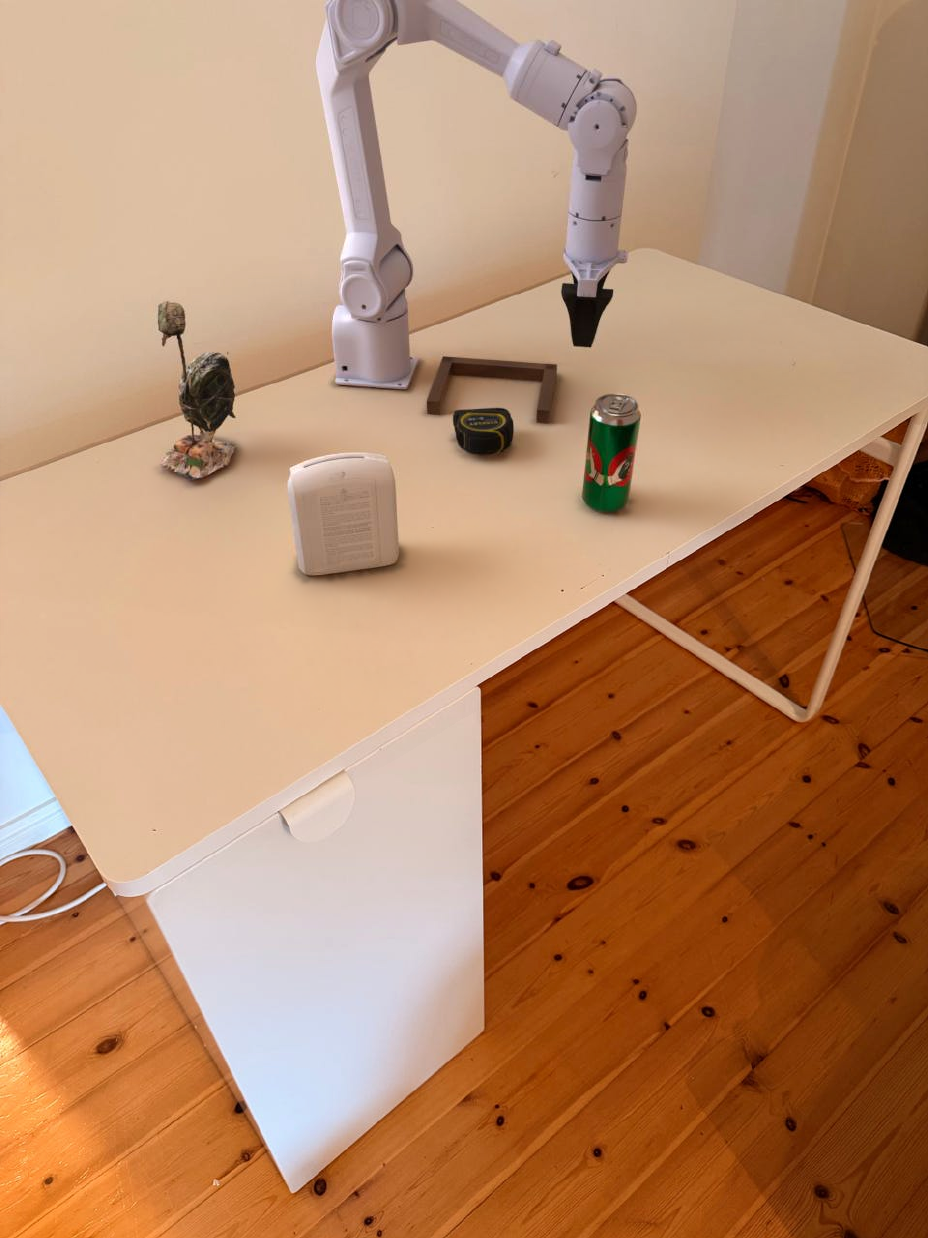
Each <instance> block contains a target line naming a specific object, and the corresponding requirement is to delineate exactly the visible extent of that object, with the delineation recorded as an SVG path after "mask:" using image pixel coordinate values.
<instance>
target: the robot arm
mask: <svg viewBox="0 0 928 1238" xmlns="http://www.w3.org/2000/svg"><path fill="white" fill-rule="evenodd" d="M324 12H325V13H324V14H325V17H326V18H325V22H324V25H323V30H322V33H321V37H320V41H319V45H318V49H317V53H316V56H315V69H316V74H317V80H318V81H317V82H318V84H319V91H320V97H321V102H322V107H323V113H324V118H325V123H326V129H327V134H328V140H329V144H330V150H331V156H332V161H333V167H334V172H335V178H336V182H337V183H336V184H337V188H338V193H339V199H340V204H341V210H342V215H343V222H344V226H345V232H346V236H345V239H344V243H343V247H342V249H341V250H342V251H341V254H340V259H339V261H340V267H341V277H340V281H339V284H338V294H339V298H340V301H341V303H342V304H338V305H337V306H336V307H335V309H334V312H333V316H332V323H331V339H332V346H333V347H332V348H333V356H334V357H333V358H334V365H335V376H336V378H335V379H334V380H335V381H334V382H335V384H337V385H339V386H341V385H342V386H352V387H353V386H354V387H366V388H367V387H368V388H378V389H379V388H380V389H393V390H407V389H408V388H409V386H410V383H411V381H412V378H413V376H414V373H415V371H416V368H417V365H418V363H419V357H417V356H411V349H410V329H409V327H410V324H409V309H408V308H409V307H408V300H407V297H406V288H408V286H409V285H410V284H411V282H412V280H413V277H414V264H413V261H412V258H411V257H410V255H409V254H408V252H407V250H406V248H405V246H404V243H403V238H402V237H403V236H402V232H401V231H400V230H399V229H398V228H396V227H395V225H394V224H393V223H392V219H391V213H390V206H389V201H388V200H389V199H388V194H387V188H386V187H387V186H386V181H385V174H384V168H383V160H382V154H381V148H380V147H381V146H380V142H379V141H380V140H379V135H378V127H377V122H376V116H375V115H376V114H375V108H374V101H373V95H372V89H371V83H370V73H371V71H372V70H373V69H374V68H375V66H376V65H377V63H378V62H379V60H380V59H381V57H383V55H384V53H385V52H386V51H387V48H389V47H390V46H391V45H392V44H394V42H396V44H397V46H404V45H410V44H416V43H422V42H428V41H433V42H435V43H437V44H439V45H441V46H443V47H445V48H447V49H449V50H451V51H452V52H453V53H456V54H458V55H460V56H462V57H464V58H466V59H468V60H469V61H471V62H473V63H474V64H476V65H478V66H480V67H481V68H483V69H486V70H488V71H489V72H491V73H493V74H494V75H497V76H498V77H500V78H502V79H503V81H504V85H505V87H506V89H507V93H508V96H509V98H510V99H511V100H512V101H514V102H516V103H518V104H519V105H520V106H522V107H524V108H526V109H527V110H529V111H531V112H532V113H534V114H536V115H537V116H539V117H541V118H542V119H543V120H545V121H547V122H548V123H550V124H551V125H553V126H555V127H556V128H558V129H560V130H561V131H566V132H567V133H568V136H569V140H570V142H571V143H572V146H573V147H574V148H573V163H572V165H571V171H570V184H569V185H570V186H569V199H568V213H567V226H566V238H565V239H566V240H565V248H564V249H563V257H562V259H563V261H564V262H565V264H566V265H567V267H568V268H569V270H570V272H571V275H572V280H573V283H571V282H570V283H568V282H562V283H561V291H560V294H561V298H562V301H563V302H564V305H565V307H566V309H567V313H568V317H569V324H570V336H571V341H572V345H573V347H576V348H577V347H578V348H592V346H593V344H594V342H595V339H596V335H597V331H598V328H599V324H600V321H601V318H602V316H603V315H604V312H605V310H606V308H607V307H608V306H609V304H610V303H611V301H612V299H613V298H614V288H604V285H605V283H606V282H607V277H608V276H609V274H610V272H611V270H612V269H613V268H614V267H615V266H616V265H617V264H627V263H628V257H629V252H628V250H622V249H619V242H620V233H621V225H622V224H621V223H622V214H623V208H624V198H625V189H626V180H627V172H628V167H627V159H628V155H629V149H628V146H629V138H627V136H628V135H629V133H630V131H631V130H632V128H633V126H634V124H635V121H636V118H637V112H638V105H637V100H636V97H635V95H634V93H633V91H632V90H631V89H630V88H629V86H628V85H626V84H625V83H624V82H623V80H622V79H621V78H619V77H615V76H606V77H602V76H603V73H602V72H601V71H599V70H598V69H596V68H593V69H592V70H588V69H587V68H585V67H583V66H582V65H580V64H579V63H578V62H576V61H574V60H572V59H571V58H569V57H567V56H566V55H564V54H563V53H562V52H560V51H561V49H562V44H561V43H559V42H557V41H555V40H554V39H549V40H548V41H547V42H546V43H545V42H543V41H542V40H540V39H533V40H531V41H529V42H526V43H522V44H521V43H519V42H518V41H516V40H515V39H513V38H511V37H510V36H509V35H508V34H507V33H504V32H503V31H502V30H500V29H499V28H498V27H496V26H495V25H493V24H492V23H491V22H489V21H487V20H486V19H485V18H483V17H482V16H480V15H479V14H477V13H476V12H474V11H473V10H472V9H470V8H469V7H467V6H466V5H465V4H463V3H462V2H460V1H459V0H328V1H327V2H326V3H325V5H324Z"/></svg>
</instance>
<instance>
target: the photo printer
mask: <svg viewBox="0 0 928 1238" xmlns="http://www.w3.org/2000/svg"><path fill="white" fill-rule="evenodd" d="M396 485H397V484H396V478H395V474H394V470H393V468H392V466H391V462H390V461H389V457H388V456H387V455H383V454H378V453H373V452H353V451H352V452H340V453H332V454H327V455H322V456H318V457H314V458H310V459H307V460H304V461H302V462H300V463H298V464H295V465H293V466H291V467H290V468H289V477H288V480H287V484H286V486H287V487H286V490H287V497H288V504H289V505H288V506H289V512H290V519H291V524H292V526H291V527H292V532H293V538H294V545H295V552H296V559H297V566H298V568H299V570H300V571H301V572H302V573H303V574H304V575H306V576H322V575H330V574H337V573H344V572H345V573H346V572H352V571H359V570H367V569H375V568H380V567H386V566H390V565H394V564H395V563H397V561H398V559H399V557H400V547H399V527H398V526H399V525H398V503H397V487H396Z"/></svg>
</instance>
